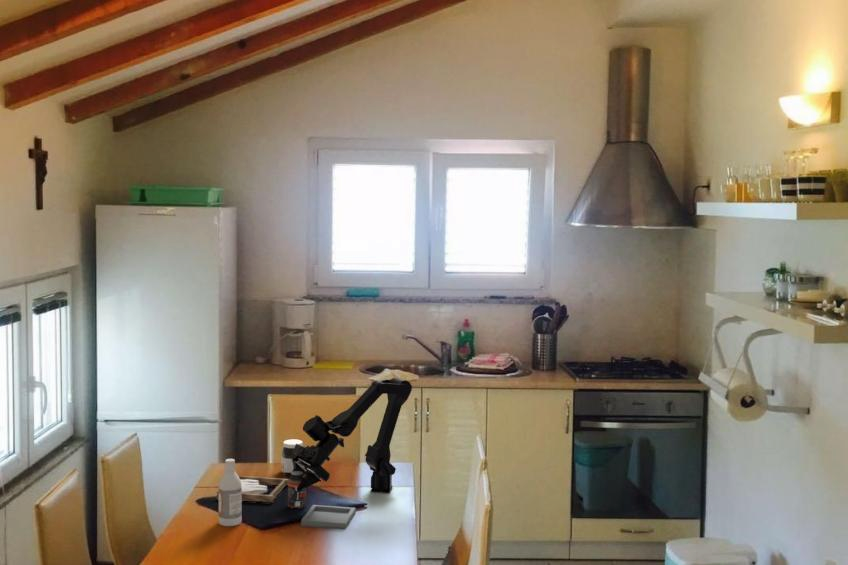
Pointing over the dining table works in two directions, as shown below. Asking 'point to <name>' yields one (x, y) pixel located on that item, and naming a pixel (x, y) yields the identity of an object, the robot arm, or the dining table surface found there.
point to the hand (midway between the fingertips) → (292, 487)
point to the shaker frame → (263, 481)
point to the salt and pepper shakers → (252, 487)
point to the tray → (328, 516)
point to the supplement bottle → (294, 496)
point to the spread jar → (288, 456)
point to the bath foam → (230, 496)
